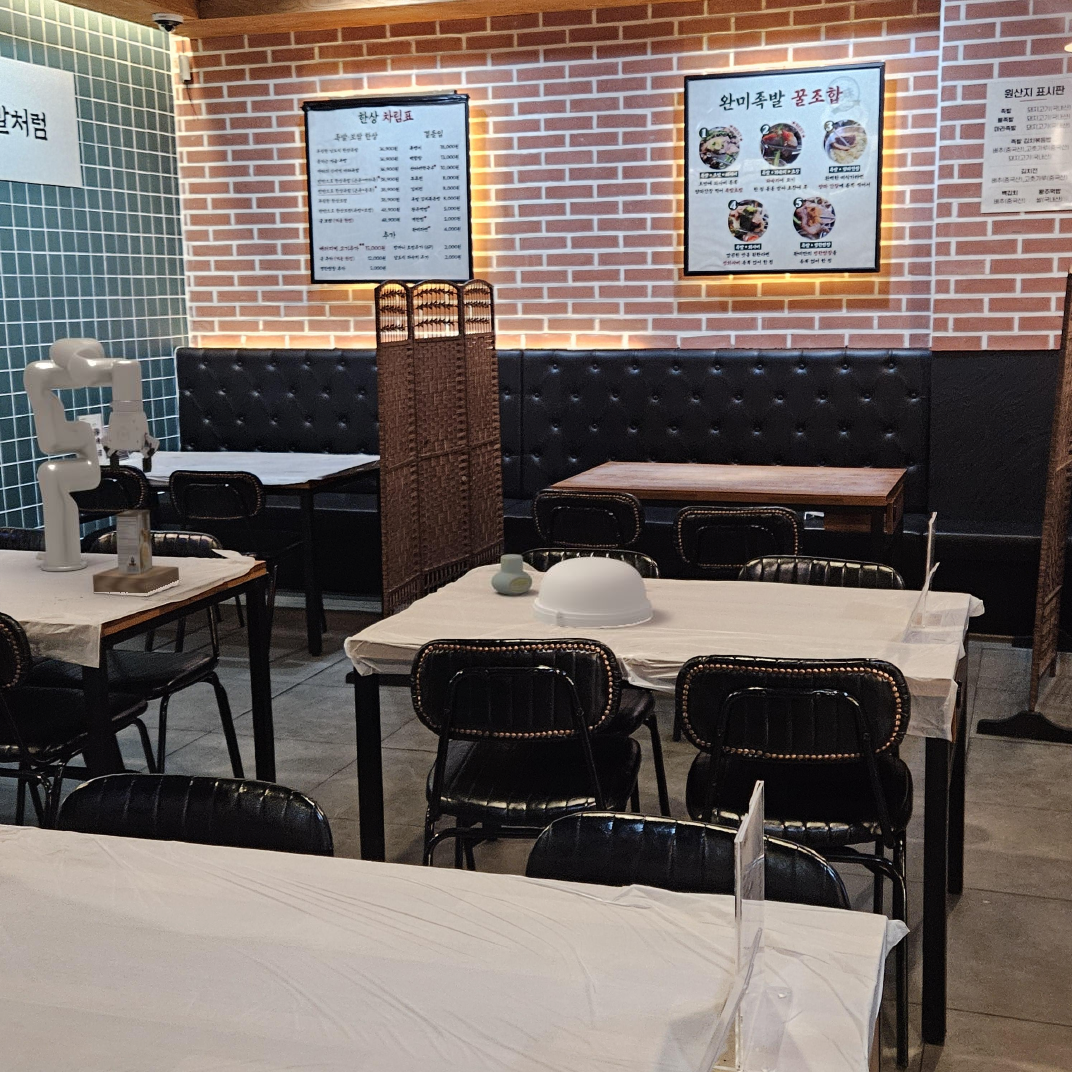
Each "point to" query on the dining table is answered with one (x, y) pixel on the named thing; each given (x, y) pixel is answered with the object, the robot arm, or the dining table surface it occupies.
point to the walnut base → (135, 580)
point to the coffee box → (133, 541)
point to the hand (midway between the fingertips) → (131, 471)
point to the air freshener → (511, 576)
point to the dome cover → (592, 594)
